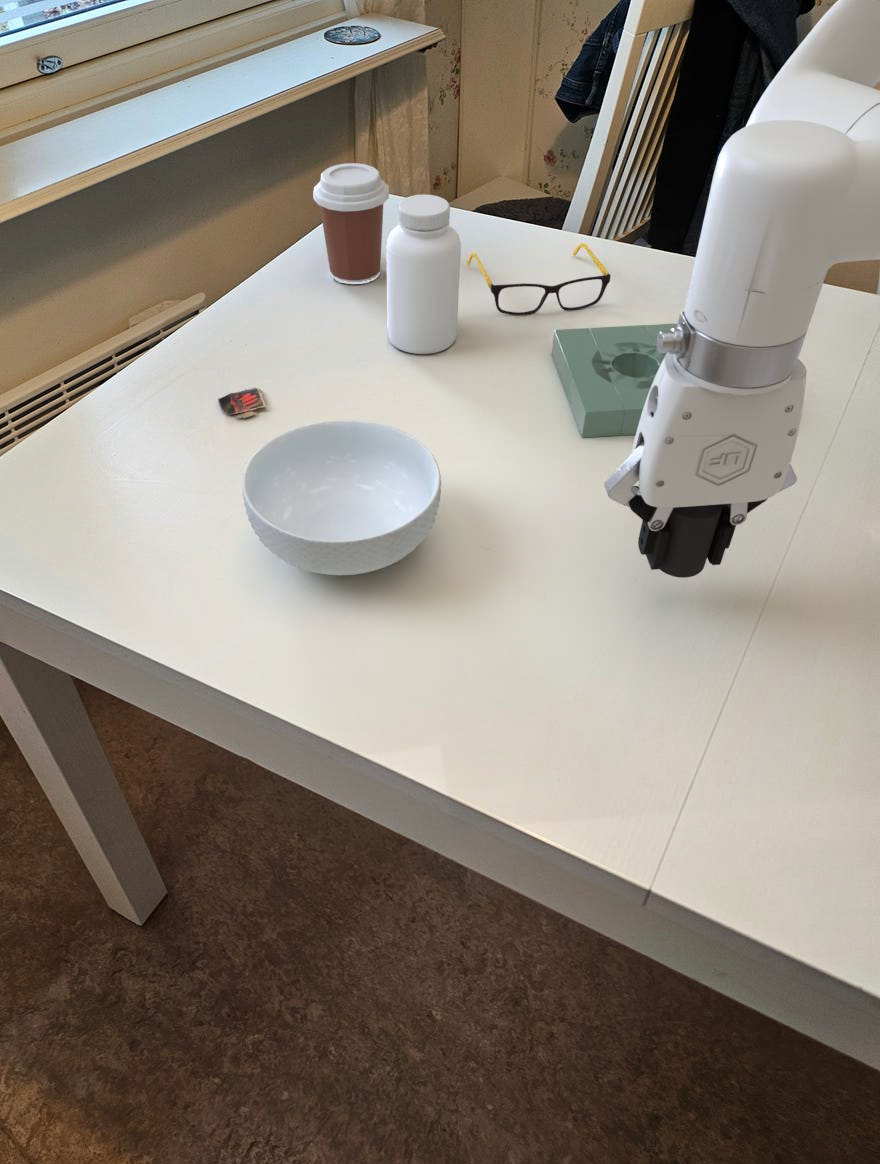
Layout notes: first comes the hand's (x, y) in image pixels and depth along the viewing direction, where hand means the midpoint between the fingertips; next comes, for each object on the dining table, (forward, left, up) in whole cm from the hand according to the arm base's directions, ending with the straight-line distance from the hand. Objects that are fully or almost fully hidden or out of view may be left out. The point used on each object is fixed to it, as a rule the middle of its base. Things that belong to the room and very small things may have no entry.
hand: (680, 553), depth 71 cm
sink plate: (-7, -31, -5) cm, 32 cm away
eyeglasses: (+1, -55, -5) cm, 55 cm away
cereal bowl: (+26, -10, -5) cm, 29 cm away
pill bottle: (+16, -44, -5) cm, 47 cm away
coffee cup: (+23, -61, -5) cm, 65 cm away
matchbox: (+36, -32, -5) cm, 49 cm away
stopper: (0, 0, -1) cm, 1 cm away
